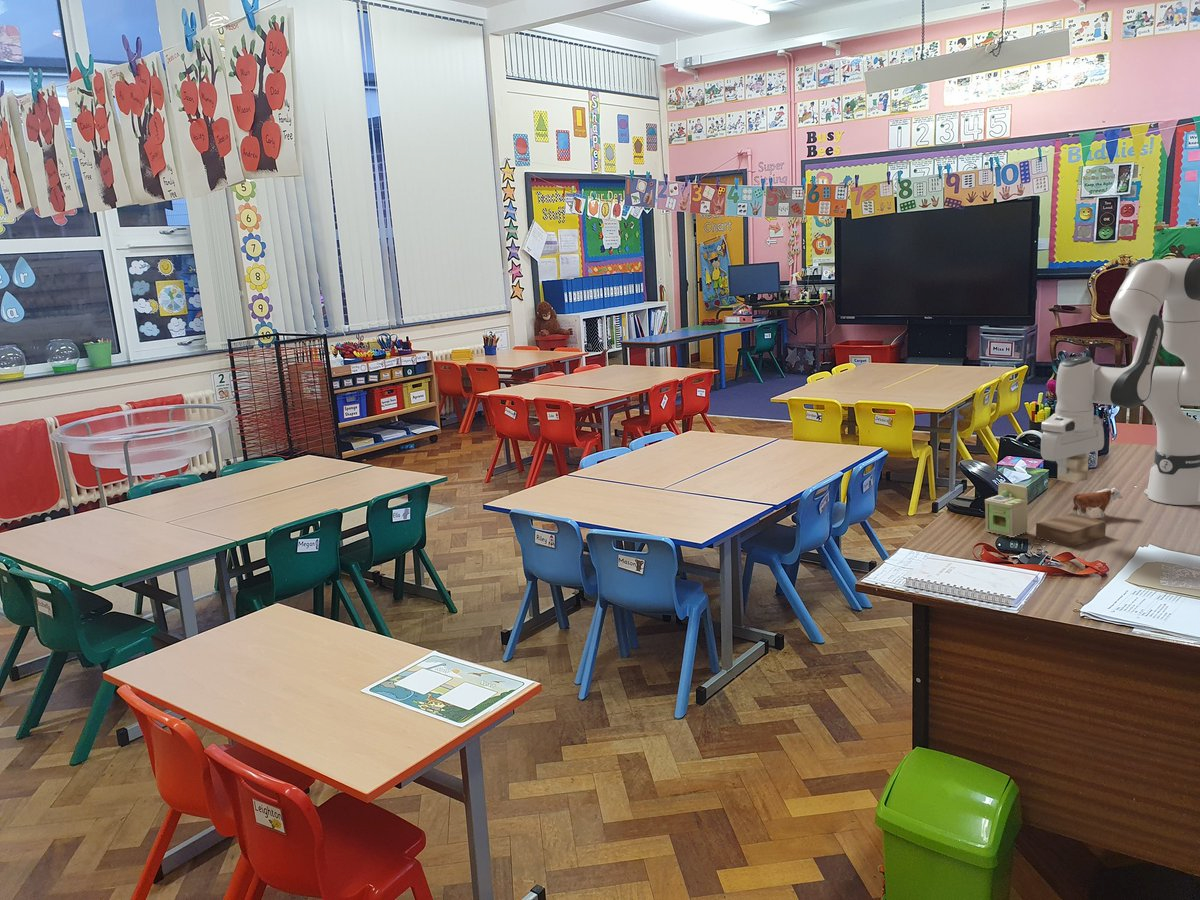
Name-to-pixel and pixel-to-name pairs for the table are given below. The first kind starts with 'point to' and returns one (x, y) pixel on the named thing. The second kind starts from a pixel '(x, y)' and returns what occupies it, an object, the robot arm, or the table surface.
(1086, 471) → the maple block
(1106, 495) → the bull figurine
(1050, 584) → the table surface
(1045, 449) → the robot arm
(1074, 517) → the base block
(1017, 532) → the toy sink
